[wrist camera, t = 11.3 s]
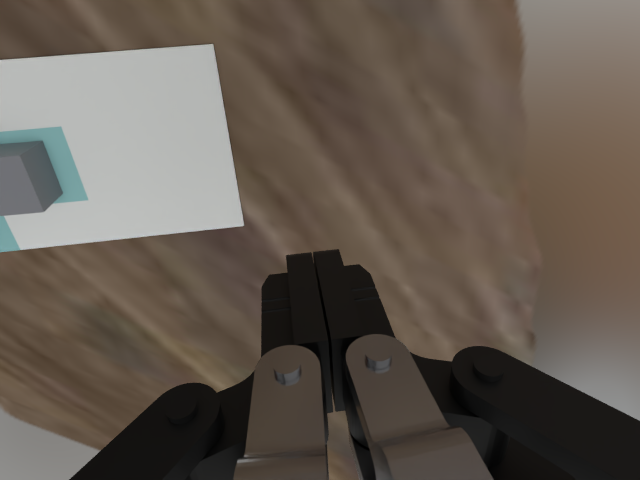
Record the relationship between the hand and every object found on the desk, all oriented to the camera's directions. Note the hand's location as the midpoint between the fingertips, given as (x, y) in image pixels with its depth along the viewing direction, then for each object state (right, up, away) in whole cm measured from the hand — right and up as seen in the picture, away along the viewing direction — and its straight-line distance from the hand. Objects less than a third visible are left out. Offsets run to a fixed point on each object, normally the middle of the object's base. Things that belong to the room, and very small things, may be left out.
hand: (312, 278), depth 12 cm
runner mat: (-23, +8, +26) cm, 35 cm away
